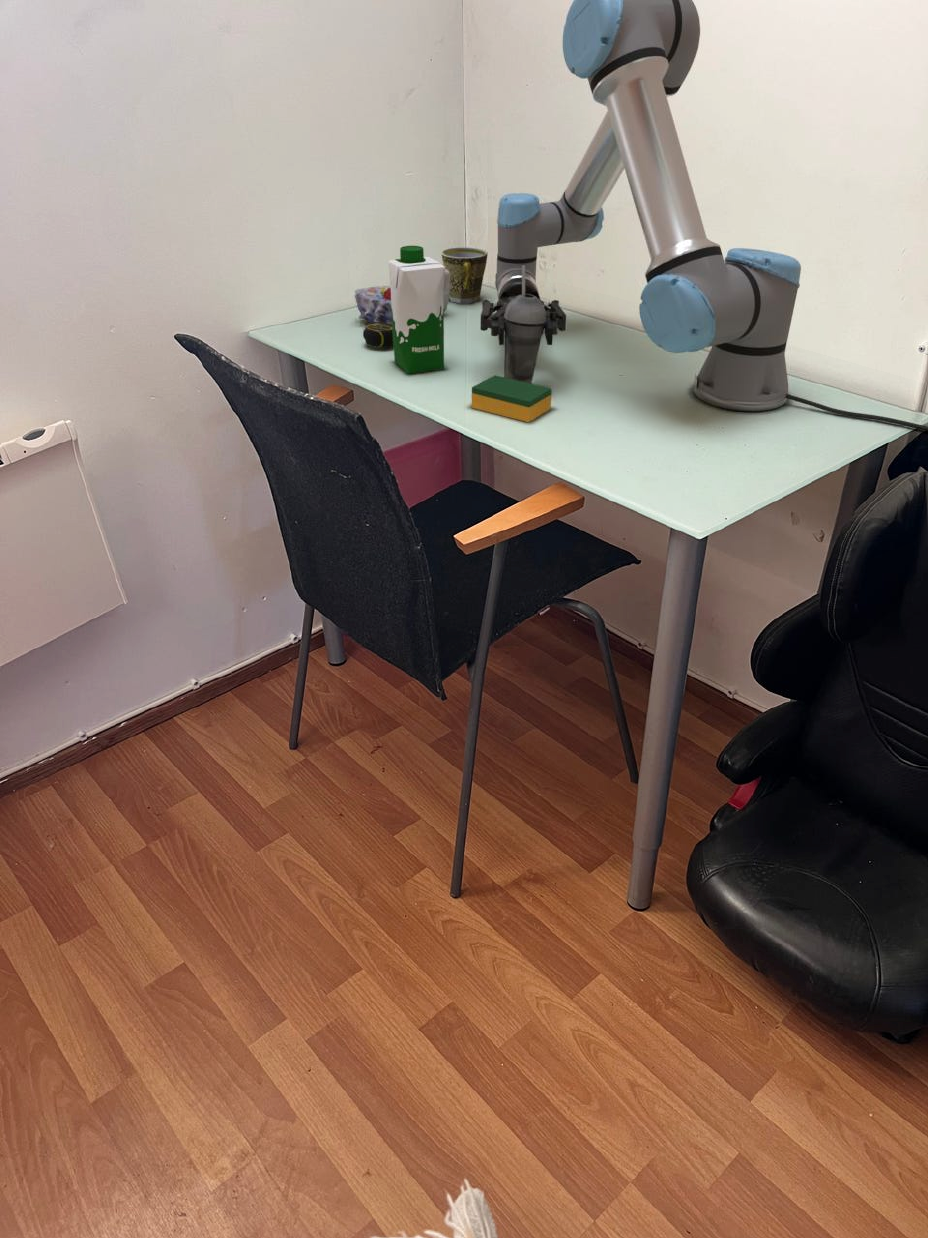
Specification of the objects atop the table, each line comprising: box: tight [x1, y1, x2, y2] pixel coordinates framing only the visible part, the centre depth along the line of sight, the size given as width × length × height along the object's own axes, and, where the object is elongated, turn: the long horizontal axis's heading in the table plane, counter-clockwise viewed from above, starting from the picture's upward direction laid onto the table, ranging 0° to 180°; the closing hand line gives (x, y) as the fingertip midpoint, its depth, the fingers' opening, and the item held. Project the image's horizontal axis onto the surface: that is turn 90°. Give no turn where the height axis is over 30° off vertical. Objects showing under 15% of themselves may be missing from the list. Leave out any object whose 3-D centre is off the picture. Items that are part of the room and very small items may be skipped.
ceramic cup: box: [441, 246, 489, 305], centre depth 199 cm, size 13×10×10 cm
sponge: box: [471, 375, 553, 423], centre depth 149 cm, size 11×7×4 cm, turn 55°
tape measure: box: [362, 322, 393, 349], centre depth 176 cm, size 7×7×4 cm
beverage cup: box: [503, 265, 546, 384], centre depth 152 cm, size 7×7×20 cm
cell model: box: [354, 269, 450, 325], centre depth 188 cm, size 13×11×20 cm
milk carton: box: [388, 245, 445, 375], centre depth 161 cm, size 9×9×20 cm
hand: (526, 336), depth 149 cm, fingers closed on beverage cup, 7 cm apart
